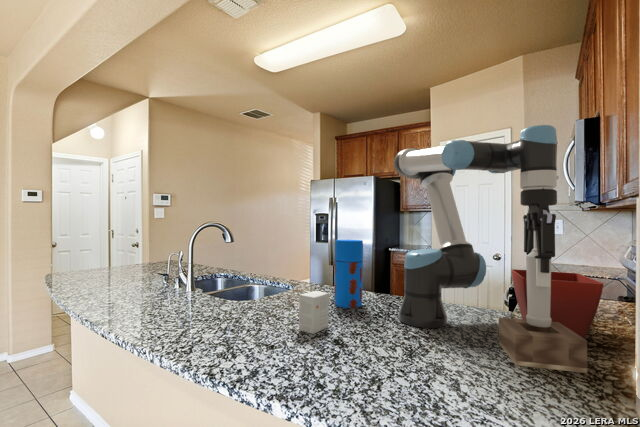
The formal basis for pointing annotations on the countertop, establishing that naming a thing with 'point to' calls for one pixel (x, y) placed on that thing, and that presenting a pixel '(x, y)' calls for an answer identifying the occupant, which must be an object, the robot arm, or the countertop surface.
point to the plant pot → (565, 299)
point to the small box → (313, 311)
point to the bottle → (537, 293)
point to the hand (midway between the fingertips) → (538, 283)
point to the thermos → (348, 273)
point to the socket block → (543, 345)
